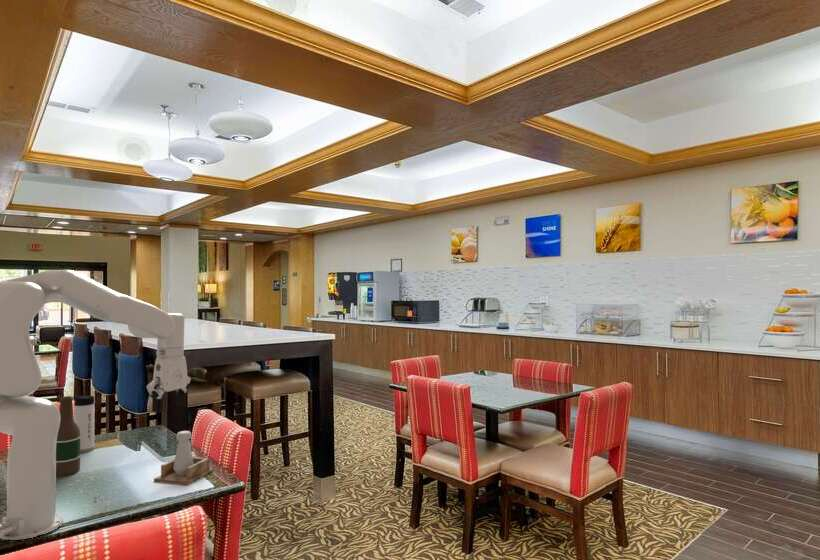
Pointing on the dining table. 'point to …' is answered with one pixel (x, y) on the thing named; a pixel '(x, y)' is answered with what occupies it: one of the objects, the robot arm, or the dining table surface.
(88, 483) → the dining table surface
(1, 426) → the robot arm
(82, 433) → the travel mug
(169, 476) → the walnut U-rest
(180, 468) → the salt shaker
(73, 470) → the beer bottle
